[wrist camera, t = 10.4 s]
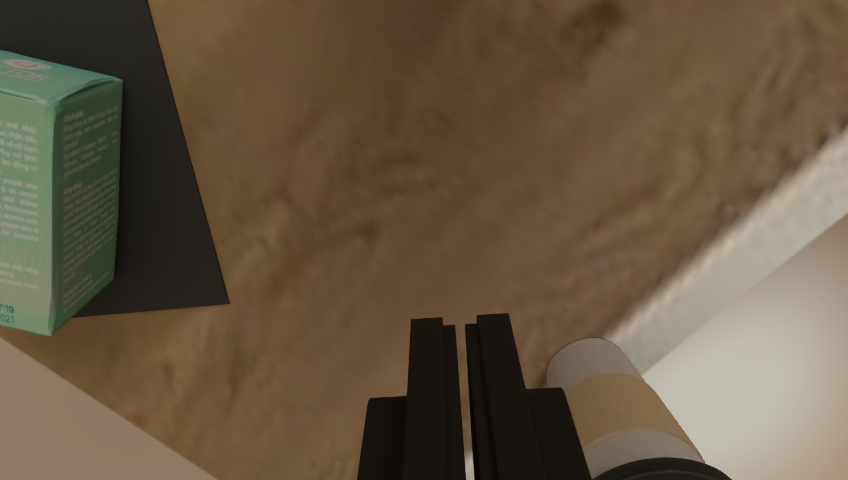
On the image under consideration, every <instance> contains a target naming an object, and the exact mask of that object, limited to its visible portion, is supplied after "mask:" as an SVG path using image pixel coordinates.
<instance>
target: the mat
mask: <svg viewBox="0 0 848 480" xmlns="http://www.w3.org/2000/svg"><path fill="white" fill-rule="evenodd" d="M0 50H3V51H8V52H12V53H16V54H20V55H23V56H27V57H31V58H36V59H40V60H44V61H48V62H52V63H57V64H61V65H65V66H70V67H74V68H78V69H83V70H87V71H92V72H96V73H100V74H104V75H108V76H113V77H116V78H119V79H121V80H123V94H122V116H121V144H120V177H119V208H118V227H117V241H116V255H115V268H114V279H113V281H112V282H110V283H109V284H108V285H107V286H106V287H105V288H104V289H103V290H102V291H100V292H99V293H98V294H97V295H96V296H95V297H94V298H93V299H92V300H90V301H89V302H88V303H87V304H86V305H85V306H84V307H83V308H82V309H80V310H79V311H78V312H77V313H76V314H75V315H74V316H73V317H72V318H74V317H85V316H97V315H108V314H119V313H131V312H142V311H153V310H164V309H176V308H187V307H198V306H210V305H221V304H229V300H228V296H227V292H226V289H225V285H224V281H223V278H222V274H221V270H220V267H219V263H218V259H217V256H216V252H215V248H214V245H213V241H212V237H211V234H210V230H209V226H208V223H207V219H206V215H205V212H204V208H203V204H202V201H201V197H200V193H199V190H198V186H197V182H196V179H195V175H194V171H193V168H192V164H191V160H190V157H189V153H188V149H187V146H186V142H185V138H184V135H183V131H182V127H181V123H180V120H179V116H178V112H177V109H176V105H175V101H174V98H173V94H172V90H171V87H170V83H169V79H168V76H167V72H166V68H165V65H164V61H163V57H162V54H161V50H160V46H159V43H158V39H157V35H156V32H155V28H154V24H153V21H152V17H151V13H150V10H149V6H148V2H147V0H0Z"/></svg>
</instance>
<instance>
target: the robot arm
mask: <svg viewBox="0 0 848 480" xmlns="http://www.w3.org/2000/svg"><path fill="white" fill-rule="evenodd" d="M465 333H466V350H467V367H468V384H469V402H470V419H471V436H472V452H473V464H474V476H475V480H592V478H591V475H590V472H589V468H588V465H587V462H586V459H585V456H584V452H583V449H582V446H581V443H580V440H579V436H578V433H577V430H576V427H575V424H574V420H573V417H572V414H571V411H570V408H569V405H568V401H567V398H566V395H565V393H564V390H563V389H562V388H561V387H556V388H538V389H525V384H524V380H523V375H522V371H521V366H520V362H519V358H518V353H517V349H516V344H515V340H514V335H513V331H512V326H511V322H510V318H509V314H508V313H503V314H486V315H477V323H476V324H465ZM357 480H466V473H465V459H464V444H463V430H462V416H461V402H460V388H459V374H458V359H457V345H456V331H455V325H444V326H443V319H442V317H438V318H422V319H411V329H410V349H409V368H408V388H407V396H398V397H380V398H370V399H369V401H368V406H367V412H366V419H365V427H364V434H363V441H362V448H361V455H360V462H359V470H358V477H357Z"/></svg>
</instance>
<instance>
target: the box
mask: <svg viewBox="0 0 848 480" xmlns="http://www.w3.org/2000/svg"><path fill="white" fill-rule="evenodd" d="M122 94H123V80H121V79H119V78H116V77H113V76H108V75H104V74H100V73H96V72H92V71H87V70H83V69H78V68H74V67H70V66H65V65H61V64H57V63H52V62H48V61H44V60H40V59H36V58H31V57H27V56H23V55H20V54H16V53H12V52H8V51H3V50H0V326H3V327H7V328H12V329H16V330H21V331H25V332H30V333H34V334H38V335H42V336H52V335H53V334H54V333H55V332H56V331H57V330H58V329H59V328H61V327H62V326H63V325H64V324H65V323H66V322H67V321H68V320H69V319H70V318H72V317H73V316H74V315H75V314H76V313H77V312H78V311H79V310H80V309H82V308H83V307H84V306H85V305H86V304H87V303H88V302H89V301H90V300H92V299H93V298H94V297H95V296H96V295H97V294H98V293H99V292H100V291H102V290H103V289H104V288H105V287H106V286H107V285H108V284H109V283H110V282H112V281H113V279H114V268H115V255H116V241H117V227H118V208H119V177H120V144H121V116H122Z"/></svg>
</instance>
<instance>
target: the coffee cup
mask: <svg viewBox="0 0 848 480" xmlns="http://www.w3.org/2000/svg"><path fill="white" fill-rule="evenodd" d="M546 380H547V388H556V387H561V388H562V389H563V390H564V393H565V395H566V398H567V401H568V405H569V408H570V411H571V414H572V417H573V420H574V424H575V427H576V430H577V433H578V436H579V440H580V443H581V446H582V449H583V452H584V456H585V459H586V462H587V465H588V468H589V472H590V475H591V478H592V480H732V479H730V478H729V477H728V476H727V475H726V474H724V473H723V472H721V471H720V470H718V469H716V468H714V467H711V466H709V465H707V464H705V461H704V460H703V458H702V456H701V455H700V453H699V451H698V450H697V449H696V447H695V446H694V444H693V443H692V442H691V440H690V439H689V437H688V436H687V435H686V433H685V432H684V431H683V429H682V428H681V426H680V425H679V424H678V422H677V421H676V420H675V418H674V417H673V415H672V414H671V413H670V411H669V410H668V409H667V407H666V406H665V404H664V403H663V402H662V400H661V399H660V398H659V396H658V395H657V393H656V392H655V391H654V390H653V389H652V388H651V387H650V386H649V385H648V384H647V383H646V382H645V381H644V379H643V378H642V377H641V375H640V374H639V373H638V371H637V370H636V369H635V367H634V366H633V364H632V363H631V362H630V360H629V359H628V358H627V356H626V355H625V353H624V352H623V351H622V350H621V349H620V348H619V347H618V346H616V345H615V344H613V343H612V342H610V341H607V340H605V339H600V338H587V339H581V340H578V341H575V342H573V343H571V344H569V345H567V346H565V347H564V348H562V349H561V350H560V351H559V352H558V353H556V354H555V355H554V356H553V358H552V359H551V361H550V362H549V365H548V367H547V371H546Z"/></svg>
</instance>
